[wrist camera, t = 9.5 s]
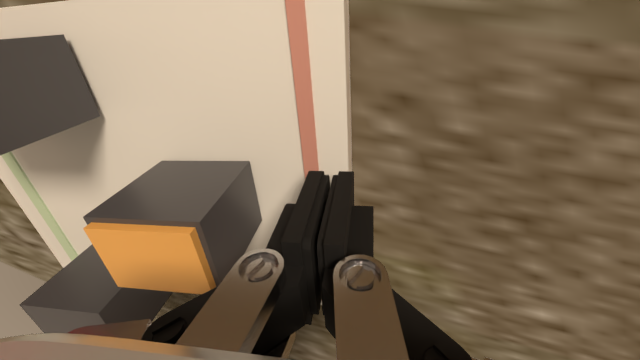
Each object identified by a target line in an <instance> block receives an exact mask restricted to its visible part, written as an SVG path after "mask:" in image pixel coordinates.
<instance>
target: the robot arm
mask: <svg viewBox="0 0 640 360" xmlns="http://www.w3.org/2000/svg"><path fill="white" fill-rule="evenodd" d="M321 299H322V310H323V315H325V325H326V328H327V329H328V331H329V332H330V333H331V334H332V336H333V337H334V338H335V339H336V358H337V360H479V359H476V358H472V357H470V355H469V354H468V353H467V352H466V351H465V350H464V349H463V348H462V347H461V346H460V345H459V344H457V343H456V342H455V341H454V340H453V339H451V338H450V337H449V336H448V335H447V334H445V333H444V332H443V331H442V330H441V329H439V328H438V327H437V326H436V325H435V324H433V323H432V322H431V321H430V320H429V319H427V318H426V317H425V316H424V315H423V314H421V313H420V312H419V311H418V310H417V309H415V308H414V307H413V306H412V305H411V304H409V303H408V302H407V301H406V300H405V299H403V298H402V297H401V296H400V295H399V294H397V293H396V292H395V291H394V290H393V289H391V285H390V281H389V277H388V273H387V271H386V268H385V266H384V265H383V264H382V263H381V262H380V261H378V260H377V259H375V258H373V206H354V172H352V171H339V173H338V175H333V177H332V182H331V186H330V177H329V175H324V171H309V172H308V174H307V177H306V179H305V182H304V184H303V187H302V189H301V192H300V194H299V197H298V199H297V202H296V204H292V203H287V204H286V205H285V207H284V209H283V211H282V213H281V215H280V218H279V220H278V222H277V224H276V227H275V229H274V231H273V233H272V235H271V238H270V240H269V242H268V244H267V247H266V249H264V248H262V249H256V250H253V251H250V252H248V253H246V254H245V255H243V256H242V257H241V258H240V259H239V260H238V261H237V262H236V263H235V264H234V266H233V267H232V268H231V270H230V271H229V273H228V274H227V275H226V277H225V278H224V279H223V281H222V282H221V283H220V285H219V286H217V287H215V288H213V289H211V290H210V291H208V292H206V293H204V294H202V295H200V296H198V297H196V298H194V299H192V300H191V301H189V302H187V303H185V304H183V305H181V306H179V307H177V308H175V309H173V310H172V311H170V312H168V313H166V314H164V315H163V316H161V317H160V318H158V319H156V320H155V321H154V322H151V320H150V319H143V320H135V321H126V322H118V323H109V324H101V325H92V326H84V327H80V328H77V329H74V330H72V331H70V332H68V333H42V334H29V335H21V336H14V337H7V338H2V339H0V360H294V359H288V357H289V354H290V352H291V349H292V347H293V344H294V341H295V337H296V331H297V330H298V329H300V328H301V327H303V326H304V325H305V324H309V325H311V322H312V317H313V314H319V310H320V305H321ZM484 360H493V359H490V358H487V357H484Z"/></svg>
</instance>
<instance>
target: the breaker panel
mask: <svg viewBox="0 0 640 360" xmlns="http://www.w3.org/2000/svg"><path fill="white" fill-rule="evenodd" d="M161 161H250V165H251V170H252V174H253V179H254V184H255V188H256V193H257V198H258V203H259V207H260V212H261V217H262V221H261V223H260V225H259V227H258V229H257V231H256V233H255V235H254V237H253V238H252V240H251V242H250V244H249V246H248V248H247V250H246V252H245V254H246V253H248V252H250V251H253V250H256V249H262V248H264V249H266V247H267V244H268V242H269V240H270V238H271V235H272V233H273V231H274V229H275V227H276V224H277V222H278V220H279V218H280V215H281V213H282V211H283V209H284V207H285V205H286V204H287V203H292V204H296V202H297V199H298V197H299V194H300V192H301V189H302V187H303V184H304V182H305V179H306V177H307V174H308V172H309V171H324V175H329V177H330V186H331V182H332V177H333V175H338V173H339V171H352V139H351V90H350V42H349V0H69V1H60V2H51V3H42V4H32V5H23V6H14V7H4V8H0V178H1V180H2V181H3V183H4V184H5V185H6V187H7V188H8V190H9V191H10V193H11V194H12V195H13V197H14V198H15V200H16V201H17V203H18V204H19V205H20V207H21V208H22V210H23V211H24V213H25V214H26V215H27V217H28V218H29V220H30V221H31V223H32V224H33V225H34V227H35V228H36V230H37V231H38V233H39V234H40V235H41V237H42V238H43V240H44V241H45V243H46V244H47V245H48V247H49V248H50V250H51V251H52V252H53V254H54V255H55V257H56V258H57V260H58V261H59V262H60V264H61V265H62V267H63V269H62V270H61V271H59V272H58V273H57V274H56V275H55V276H53V277H52V278H51V279H50V280H49V281H47V282H46V283H45V284H44V285H43V286H41V287H40V288H39V289H38V290H37V291H36V292H34V293H33V294H32V295H31V296H29V297H28V298H27V299H26V300H25V301H23V302H22V303H21V304H20V306H21V307H22V308H23V309H24V311H25V312H26V313H27V314H28V315H29V316H30V317H31V319H32V320H33V321H34V322H35V323H36V324H37V325H38V327H39V328H40V329H41V330H42V331H43V332H44V333H68V332H70V331H72V330H74V329H77V328H80V327H84V326H92V325H101V324H109V323H118V322H126V321H135V320H143V319H150V320H151V322H152V320H153V319H154V318H155V316H156V315H157V313H158V312H159V311H160V309H161V308H162V306H163V305H164V303H165V302H166V301H167V299H168V298H169V296H170V295H171V294H172V292H170V291H159V290H147V289H136V288H125V287H118V286H117V284H116V283H115V281H114V279H113V278H112V276H111V274H110V273H109V271H108V269H107V268H106V266H105V264H104V263H103V261H102V259H101V258H100V256H99V254H98V253H97V251H96V249H95V248H94V246H93V244H92V243H91V241H90V239H89V238H88V236H87V234H86V233H85V231H84V229H83V228H84V227H86V226H87V224H86V222H85V220H84V218H83V216H85V215H86V214H88V213H89V212H90V211H92V210H93V209H95V208H96V207H97V206H99V205H100V204H102V203H103V202H104V201H106V200H107V199H109V198H110V197H111V196H113V195H114V194H116V193H117V192H118V191H120V190H121V189H123V188H124V187H125V186H127V185H128V184H130V183H131V182H132V181H134V180H135V179H137V178H138V177H139V176H141V175H142V174H144V173H145V172H146V171H148V170H149V169H151V168H152V167H153V166H155V165H156V164H158V163H159V162H161ZM245 254H244V255H245ZM321 305H322V299H321Z"/></svg>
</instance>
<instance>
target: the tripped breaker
mask: <svg viewBox="0 0 640 360" xmlns="http://www.w3.org/2000/svg"><path fill="white" fill-rule="evenodd" d="M83 218H84V220H85V222H86V224H87V226H86V227H84V228H83V229H84V231H85V233H86V234H87V236H88V238H89V239H90V241H91V243H92V244H93V246H94V248H95V249H96V251H97V253H98V254H99V256H100V258H101V259H102V261H103V263H104V264H105V266H106V268H107V269H108V271H109V273H110V274H111V276H112V278H113V279H114V281H115V283H116V284H117V286H118V287H125V288H136V289H147V290H159V291H170V292H181V293H192V294H204V293H206V292H208V291H210V290H211V289H213V288H215V287H217V286H219V285H220V283H221V282H222V281H223V279H224V278H225V277H226V275H227V274H228V273H229V271H230V270H231V268H232V267H233V266H234V264H235V263H236V262H237V261H238V260H239V259H240V258H241V257H242V256H243V255H244V254H245V252H246V250H247V248H248V246H249V244H250V242H251V240H252V238H253V237H254V235H255V233H256V231H257V229H258V227H259V225H260V223H261V221H262V217H261V212H260V207H259V203H258V198H257V193H256V188H255V184H254V179H253V174H252V170H251V165H250V161H161V162H159V163H158V164H156V165H155V166H153V167H152V168H151V169H149V170H148V171H146V172H145V173H144V174H142V175H141V176H139V177H138V178H137V179H135V180H134V181H132V182H131V183H130V184H128V185H127V186H125V187H124V188H123V189H121V190H120V191H118V192H117V193H116V194H114V195H113V196H111V197H110V198H109V199H107V200H106V201H104V202H103V203H102V204H100V205H99V206H97V207H96V208H95V209H93V210H92V211H90V212H89V213H88V214H86V215H85V216H83Z"/></svg>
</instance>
